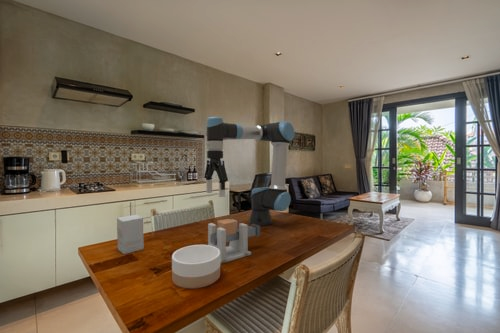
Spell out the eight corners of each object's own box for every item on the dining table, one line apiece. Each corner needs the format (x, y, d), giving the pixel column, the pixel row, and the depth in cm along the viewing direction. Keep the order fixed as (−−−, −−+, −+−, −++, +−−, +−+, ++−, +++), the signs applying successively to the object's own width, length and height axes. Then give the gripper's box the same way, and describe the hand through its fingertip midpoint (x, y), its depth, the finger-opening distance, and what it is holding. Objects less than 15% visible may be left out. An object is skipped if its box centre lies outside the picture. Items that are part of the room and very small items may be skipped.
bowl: (174, 293, 75) (174, 267, 75) (169, 269, 91) (169, 248, 90) (226, 282, 82) (226, 258, 82) (213, 261, 98) (213, 241, 97)
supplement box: (137, 244, 117) (136, 214, 116) (144, 249, 110) (143, 217, 110) (117, 249, 110) (116, 217, 110) (123, 254, 104) (122, 221, 103)
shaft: (254, 232, 116) (254, 223, 116) (260, 235, 112) (260, 225, 112) (209, 243, 102) (209, 233, 101) (214, 246, 98) (214, 235, 98)
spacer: (229, 229, 108) (229, 218, 108) (236, 232, 103) (236, 221, 103) (217, 231, 104) (217, 220, 104) (224, 235, 100) (224, 223, 99)
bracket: (236, 246, 114) (236, 218, 114) (251, 254, 105) (251, 224, 104) (204, 254, 104) (203, 224, 104) (217, 264, 95) (217, 231, 94)
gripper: (197, 150, 120) (197, 192, 121) (220, 149, 100) (220, 199, 101) (211, 150, 125) (211, 190, 126) (235, 149, 104) (235, 197, 105)
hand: (215, 194), depth 113 cm, fingers open, 13 cm apart
